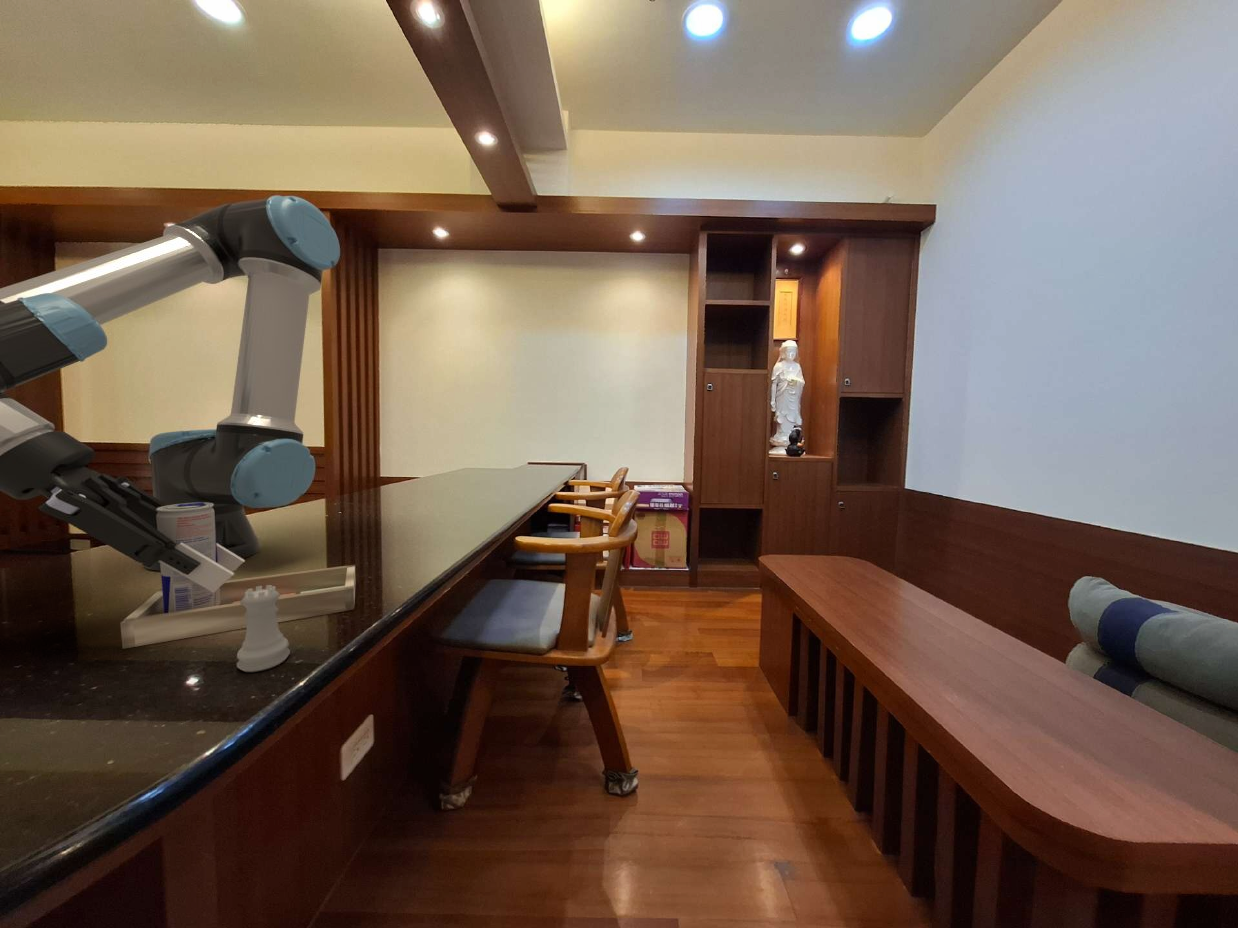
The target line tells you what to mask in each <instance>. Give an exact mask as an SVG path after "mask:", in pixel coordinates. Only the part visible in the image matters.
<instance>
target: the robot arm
mask: <svg viewBox="0 0 1238 928" xmlns="http://www.w3.org/2000/svg"><path fill="white" fill-rule="evenodd" d="M340 256H341V248H340V242H339V238H338V235H337V234H336V231H335V229H334V228H333V227H332V225H331V223H330V221H329V219H328V218H327V217H326V216H325V214H324V213H323V212H322V211H321V210H320V209H319V208H318V207H316V206H315V204H313V203H311V202H309V201H307V200H306V199H304V198H301V197H300V196H295V195H285V196H282V195H277V194H276V195H272V196H269V197H268V198H263V199H256V200H255V199H254V200H245V201H239V202H238V201H237V202H229V203H226V204H222V205H219V206H217V207H214V208H212V209H209V210H207V211H205V212H202V213H200V214H197V215H196V216H193V217H191V218H188V219H186V220H184V221H181V222H178V223H175V224H171V225H168V226H167V227H165V228H164V230H163V232H162V236H161V237H157V238H154V239H151V240H148V241H145V242H141V243H139V244H135V245H132V246H130V247H128V246H127V247H126V248H123V249H119V250H117V251H114V252H110V253H107V254H104V255H103V254H102V255H101V256H98V257H95V258H91V259H88V260H85V261H82V262H79V263H76V264H73V265H70V266H67V267H63V268H60V269H56V270H53V271H50V272H48V273H44V274H41V275H38V276H36V277H32V278H29V279H26V280H23V281H20V282H16V283H13V284H10V285H7V286H5V287H1V288H0V492H2V493H4V494H5V495H8V496H10V497H11V498H12V499H16V500H21V501H22V500H29V499H32V498H36V497H38V496H41V495H42V496H44V497H45V499H48V500H47V501H45V502H44V503H43V504H41V505H39V506H38V508H37V509H38V510H39V511H40V512H42V513H44V514H46V515H49V516H51V517H53V518H55V519H58V520H60V521H64V522H66V523H67V524H69V525H71V526H72V527H74V528H77V529H78V530H79V531H81V532H84V533H85V534H87V535H89V536H91V537H92V538H95V540H97V541H100V542H102V543H104V544H105V545H106V546H108V547H110V548H112V549H114V550H115V551H118V552H120V553H121V554H123V555H124V556H127V557H128V558H130V559H132V560H133V561H135V562H137V563H140V564H141V565H142V566H143V567H144V568H145V569H147V570H151V571H159V572H161V567H160V563H162V564H163V565H165V566H167V567H169V568H170V569H172V570H174V571H176V572H178V573H179V574H181V575H183V576H185V577H187V578H188V579H190V580H192V581H194V582H195V583H197V584H199V585H201V586H203V587H204V588H206V589H208V590H210V591H211V592H213V593H214V592H215V591H216V590H217V589H218V588H219V587H220V586H221V585H223V584H224V583H225V582H226V581H229V580H230V579H231V578H232V576H234V575H235V572H234V571H236V570H237V569H238V568H239V567H240V566H241V565H242V564H243V563H244V562H246V560H245V559H246V558H249V557H250V556H253V555H255V554H256V553H258V552H259V539H258V536H257V535H256V533H255V530H254V529H253V527H252V524H251V523H250V521H249V519H248V517H247V515H246V512H245V507H248V508H250V509H256V508H257V509H259V508H260V509H265V508H278V507H283V506H286V505H290V504H291V503H294V502H295V501H297V500H298V499H299V498H300V497H301V496H303V495H304V494H305V493H306V492H307V490H308V489H309V488H310V486H311V485H312V483H313V481H314V478H315V473H316V461H315V458H314V456H313V455H311V450H310V449H309V448H308V447H307V446H306V445H304V444H303V441H304V431H302V430H301V428H300V427H298V425H297V424H296V423H295V421H296V420H295V419H296V411H297V403H298V395H299V386H300V378H301V371H302V370H301V368H302V362H303V361H302V360H303V354H304V345H305V338H306V337H305V335H306V328H307V327H306V326H307V318H308V309H309V302H310V295H312V294H314V293H316V292H318V291H320V290H321V287H322V279H323V272H324V271H328V270H330V269H332V268H333V267H335V266H336V265H337V264H338V263H339V260H340ZM244 276H247V279H248V280H247V287H246V295H245V303H244V310H243V317H242V324H241V325H242V326H241V334H240V341H239V350H238V357H237V365H236V371H235V372H236V373H235V379H234V386H233V394H232V403H231V410H230V414H229V415H228V416H226V417H225V418H224V419H221V420H220V421H218V422H217V424H216V428H214V429H212V428H211V429H192V430H177V431H167V432H163V433H158V434H156V435H154V436H152V437H151V439H150V441H149V451H148V459H149V461H150V474H151V475H150V476H151V484H152V485H151V487H152V494H153V495H151V494H150V493H148V492H147V491H145V490H143V489H142V488H140V487H139V486H138V485H136V484H135V483H134V482H133V481H131V480H130V479H129V478H127V477H126V476H122V475H119V476H117V478H114V477H112V476H110V475H108V474H106V473H100V472H98V471H96V470H94V469H91V468H90V467H89V463H90V462H92V461H93V459H94V458H95V456H96V452H95V450H94V449H93V448H92V447H89V446H88V445H86V444H85V443H83V442H81V440H79V439H77V438H75V437H73V436H72V435H70V434H69V433H67V432H65V431H59V430H55V429H56V427H55V424H54V423H53V422H50V421H49V420H47V419H46V418H44V417H42V415H39V414H38V413H36V412H34V411H33V410H31V409H30V408H28V407H26V406H24V405H23V404H21V402H19V401H16V400H15V399H13V398H12V397H10V396H8V395H7V394H5V393H4V392H7V391H10V390H11V389H14V388H16V387H18V386H22V385H24V384H26V383H28V382H30V381H33V380H35V379H38V378H41V377H43V376H46V375H48V374H50V373H53V372H56V371H58V370H61V369H63V368H65V367H68V366H71V365H73V364H75V363H78V362H81V363H82V362H84V361H85V360H86V359H88V358H89V357H92V356H94V355H96V354H98V353H99V352H102V351H103V350H105V349H106V348H107V346H108V338H107V334H106V332H105V331H104V329H103V327H102V325H104V324H107V323H109V322H111V321H112V320H116V319H118V318H120V317H123V316H124V315H128V314H130V313H132V312H135V311H137V310H139V309H141V308H145V307H146V306H149V305H151V304H154V303H156V302H158V301H161V300H163V299H165V298H168V297H170V296H172V295H175V294H177V293H180V292H182V291H184V290H187V289H189V288H191V287H194V286H196V285H198V284H201V283H206V284H210V285H216V284H220V283H221V282H223V281H226V280H228V279H233V278H236V277H237V278H238V277H244ZM184 503H212V504H214V505H213V506H212V508H213V509H214V514H215V528H216V543H217V558H218V563H216V562H215V561H213V560H211V559H209V558H208V557H206V556H204V555H203V554H201V553H199V552H198V551H196V550H194V549H193V548H191V547H189V546H188V545H186V544H184V543H182V542H181V543H180V544H179V545H178V546H176V543H175V542H174V541H172V540H171V539H169V538H168V537H166V536H165V535H164V534H162V533H161V532H160V531H158V530H157V518H156V516H157V513H158V511H156V509H157V508H159V507H162V506H168V505H175V504H184ZM175 546H176V547H175ZM174 547H175V548H174Z"/></svg>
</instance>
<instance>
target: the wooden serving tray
mask: <svg viewBox="0 0 1238 928" xmlns="http://www.w3.org/2000/svg"><path fill="white" fill-rule="evenodd" d="M356 582H357V581H356V564H352V565H351V564H348V565H343V566H342V565H340V566H334V567H333V566H332V567H325V568H319V569H311V570H302V571H296V572H295V571H294V572H293V571H292V572H286V573H278V574H270V575H262V576H255V577H247V578H239V579H237V578H236V579H232V580H231V579H228V580H227V581H226V582H225V583H224V584H223V585H221V586H220V602H221V605H219V606H212V607H205V608H198V609H192V610H185V611H178V612H171V613H164V604H163V591H162V588H160V589H159V590H157V592H155V593H154V594H153V595H151V597H150V598H148V599H147V600H146V601H145V602H143V603H142V604H141V605H140V606H139V607H137V608H136V609H135V610H134V611H133V612H132V613H130V614H129V615H127V617H126V618H124V619H122V621H121V622H120V636H121V643H122V645H121V646H122V649H123V650H124V649H130V648H134V647H140V646H147V645H152V644H159V643H163V642H164V643H165V642H169V641H177V640H182V639H187V638H193V637H194V638H195V637H199V636H206V635H212V634H217V633H223V632H224V633H225V632H231V631H235V630H241V629H247V619H246V618H245V617H244V615H245V613H246V612H247V608H246V607H244V606H243V605H242V604H241V603H240V602H239V603H233V602H234V601H241V600H242V599H243V598H244V596H245V593H244V592H246V590H248V589H250V588H251V589H253V592H254V591H256V587H258V586H262V590H265V589H266V586H267V585H272V587H273V586H275V588H276V591H277V592H278V593H279V594H280V595H283V594H290V593H296V594H294V595H287V596H280V597H279V598H278V599H277V601H276V603H275V606H276V607H277V608H278V611H277V612H276V617H277V623H282V622H287V621H293V620H300V619H305V618H311V617H318V616H323V615H328V614H335V613H340V612H341V613H342V612H346V611H352V610H353V611H354V610H355V602H356V601H355V600H356V585H357V583H356ZM338 586H345V587H342V588H335V589H328V590H321V591H315V592H308V593H301V592H303V591H310V590H317V589H324V588H331V587H338ZM300 593H301V594H300ZM232 603H233V604H232Z"/></svg>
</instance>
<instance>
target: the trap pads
mask: <svg viewBox="0 0 1238 928" xmlns="http://www.w3.org/2000/svg"><path fill="white" fill-rule="evenodd" d="M294 594H296V593H290V594H283V595H280V596H287V595H294ZM239 602H240V601H234V602H233V603H239ZM233 603H231V604H233Z"/></svg>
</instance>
